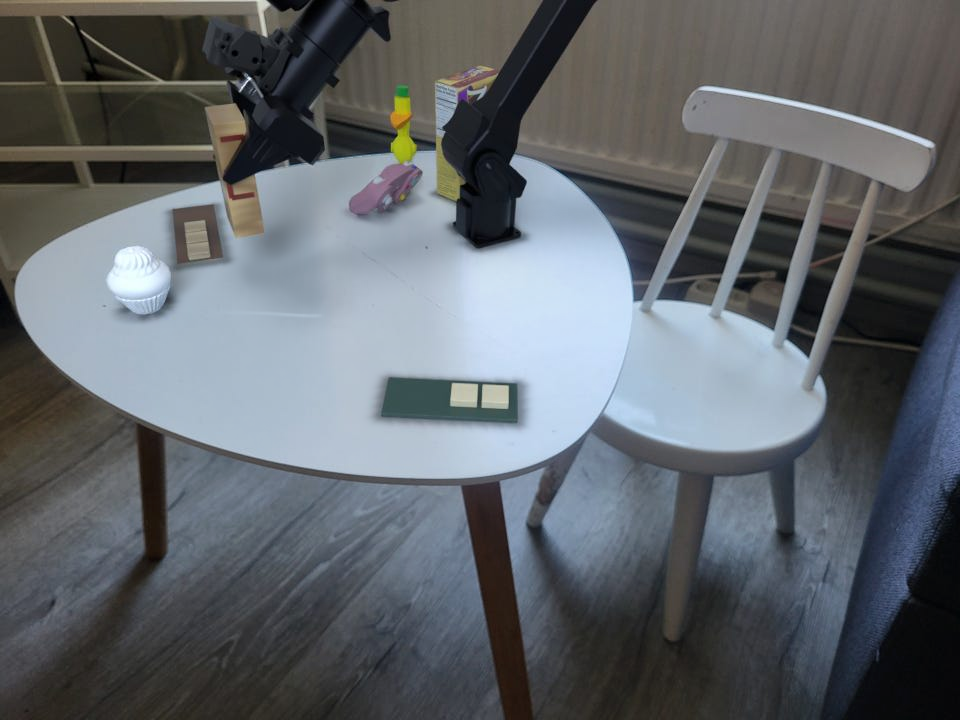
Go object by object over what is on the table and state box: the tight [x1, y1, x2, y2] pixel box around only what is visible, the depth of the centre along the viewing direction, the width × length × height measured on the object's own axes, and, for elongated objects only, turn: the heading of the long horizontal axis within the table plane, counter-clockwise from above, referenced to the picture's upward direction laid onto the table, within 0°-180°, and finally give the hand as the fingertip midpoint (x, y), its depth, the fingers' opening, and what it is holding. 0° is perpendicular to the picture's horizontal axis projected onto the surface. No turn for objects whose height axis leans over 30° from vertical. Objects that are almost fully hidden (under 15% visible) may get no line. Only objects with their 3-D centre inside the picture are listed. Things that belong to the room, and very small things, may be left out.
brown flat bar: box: [172, 203, 224, 265], centre depth 90 cm, size 14×5×1 cm, turn 20°
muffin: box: [106, 245, 172, 316], centre depth 76 cm, size 6×6×7 cm
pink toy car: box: [348, 160, 423, 215], centre depth 96 cm, size 10×5×7 cm, turn 148°
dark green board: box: [381, 376, 518, 424], centre depth 68 cm, size 12×5×1 cm, turn 88°
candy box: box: [434, 65, 500, 202], centre depth 98 cm, size 9×4×15 cm, turn 140°
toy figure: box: [389, 85, 418, 164], centre depth 102 cm, size 7×4×12 cm, turn 172°
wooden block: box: [204, 103, 266, 239], centre depth 76 cm, size 3×5×12 cm, turn 25°
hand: (221, 170), depth 75 cm, fingers closed on wooden block, 5 cm apart
